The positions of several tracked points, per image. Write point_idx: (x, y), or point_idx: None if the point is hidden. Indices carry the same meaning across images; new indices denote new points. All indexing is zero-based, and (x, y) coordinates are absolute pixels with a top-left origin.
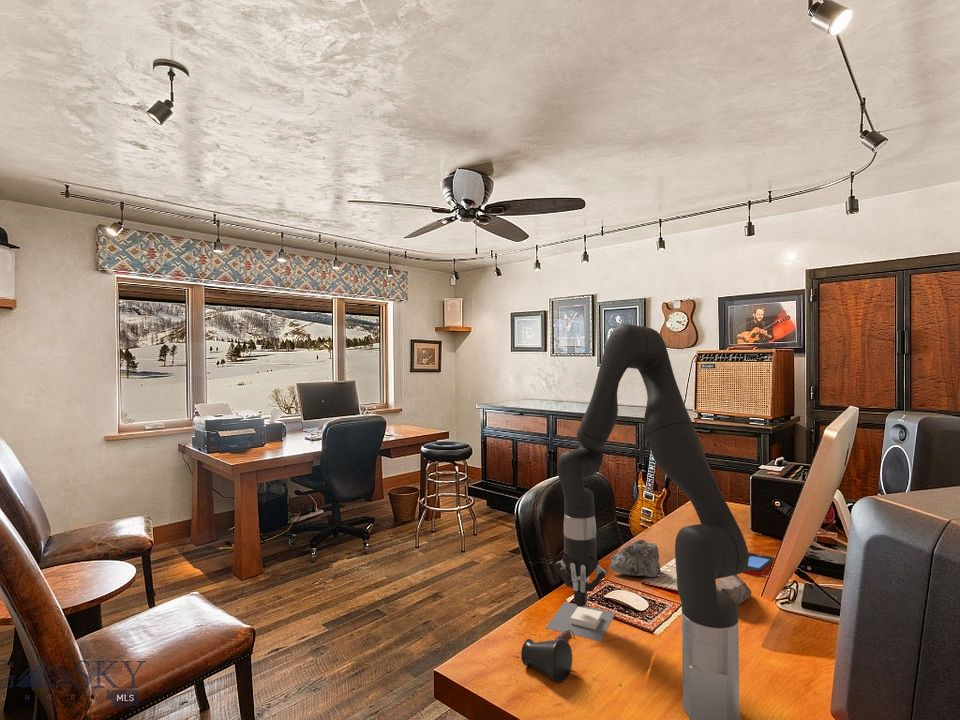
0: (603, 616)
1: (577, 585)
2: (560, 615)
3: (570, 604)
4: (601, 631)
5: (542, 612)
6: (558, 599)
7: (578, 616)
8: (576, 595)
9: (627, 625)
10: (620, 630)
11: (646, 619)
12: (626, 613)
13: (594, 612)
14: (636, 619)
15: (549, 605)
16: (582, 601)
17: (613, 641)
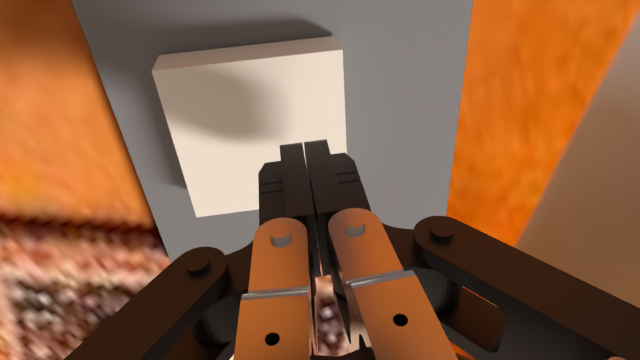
0: None
1: (341, 254)
2: (427, 99)
3: (407, 223)
4: (121, 57)
5: (537, 91)
6: None
7: (299, 95)
8: (337, 186)
9: (64, 208)
10: (60, 146)
11: (30, 293)
12: (139, 290)
13: (232, 188)
14: (67, 272)
15: (511, 174)
16: (282, 171)
17: (3, 3)
